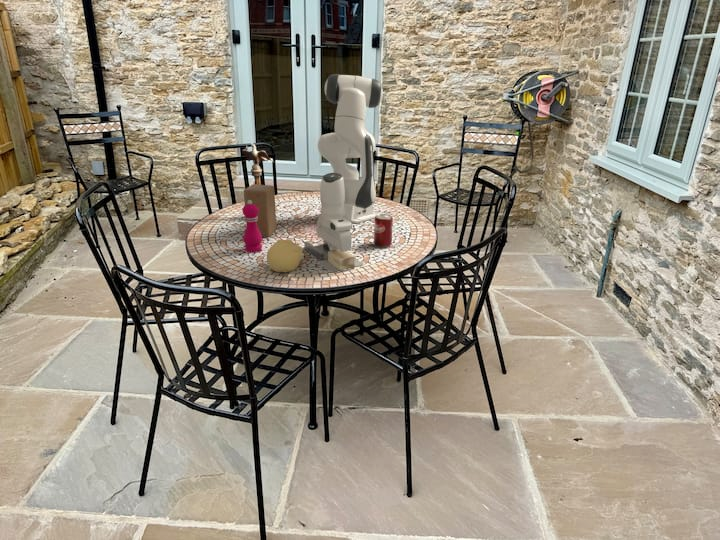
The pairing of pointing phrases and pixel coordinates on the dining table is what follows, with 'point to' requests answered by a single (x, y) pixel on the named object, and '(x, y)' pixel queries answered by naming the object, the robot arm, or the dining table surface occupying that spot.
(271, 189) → the wooden block
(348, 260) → the birch block
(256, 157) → the bird statue
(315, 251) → the metal chute
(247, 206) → the pepper mill
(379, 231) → the soda can
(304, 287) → the dining table surface
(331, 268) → the slate mat
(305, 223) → the dining table surface
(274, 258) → the sculpture
